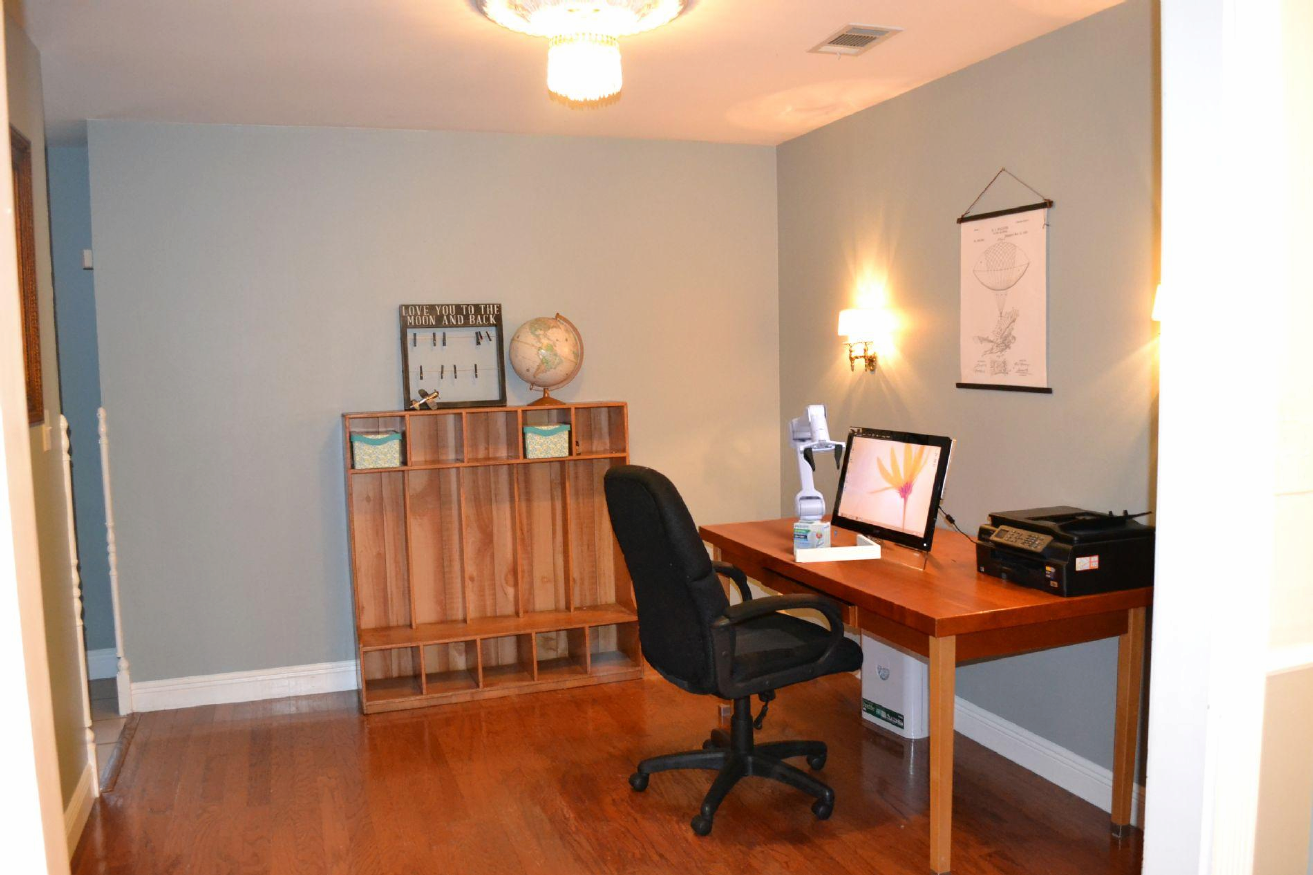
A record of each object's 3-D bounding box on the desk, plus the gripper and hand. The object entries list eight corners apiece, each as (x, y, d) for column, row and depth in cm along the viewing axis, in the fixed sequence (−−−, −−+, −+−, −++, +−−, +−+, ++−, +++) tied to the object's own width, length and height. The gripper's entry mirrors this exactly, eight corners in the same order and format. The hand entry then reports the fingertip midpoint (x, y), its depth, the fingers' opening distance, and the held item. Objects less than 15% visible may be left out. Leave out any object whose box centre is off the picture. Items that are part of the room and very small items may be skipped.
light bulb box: (793, 555, 330) (792, 523, 329) (800, 551, 336) (799, 519, 335) (824, 558, 325) (824, 525, 324) (831, 554, 331) (830, 521, 330)
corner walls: (781, 550, 339) (781, 538, 338) (861, 546, 342) (861, 534, 342) (796, 562, 320) (796, 550, 319) (880, 558, 323) (880, 545, 322)
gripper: (797, 429, 323) (803, 462, 315) (843, 425, 323) (850, 459, 314) (797, 442, 329) (802, 476, 320) (841, 439, 328) (848, 472, 320)
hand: (826, 468), depth 317 cm, fingers open, 7 cm apart
